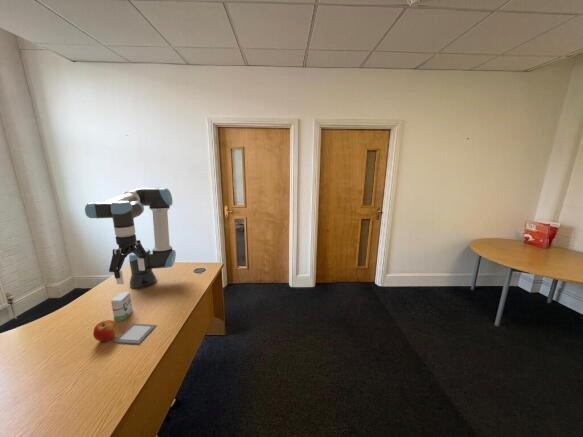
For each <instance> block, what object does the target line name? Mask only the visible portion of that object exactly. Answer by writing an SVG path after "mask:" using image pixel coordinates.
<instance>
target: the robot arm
mask: <svg viewBox="0 0 583 437" xmlns="http://www.w3.org/2000/svg"><path fill="white" fill-rule="evenodd" d="M172 205H173V196H172V193H171V191H170V189H168V188H167V187H166V188H165V187H140V188H139V187H138V188H136V189H135V188H133V189H132V190H128V191H125V192H124V193H123V194H121V195H118V196H115V197H113V198H112V197H111V198H110V199H107V200H104V201H100V202H96V201H95V202H89V203H86V205H85V207H84V213H85V216H86V217H87V218H89V219H112V222H113V229H114V235H115V243H116V245H117V246H118V248H117V249H116V248H113V249H112V257H111V260H110V265H109V269H108V272H109V273H113V274H114V278H115V280H116V281H115V282H116V284H117V285H124V284H125V283H124V282H125V281H124V276H123V269H122V267H123V265H124V262H125V261H126V260H125V259H126V258H127V257H128V262H129V266H130V267H129V268H130V272H131V273H130V274H131V276H130V279H129V280H130V281H129V287H130V288H131V289H137V290H138V289H143V288H144V289H145V288H147V287H151V286H152V285H154V284H156V282H157V276H156V275H155V273H154V271H153V269H167V268H172V267H173V266H174V264H175V263H176V262H175V261H176V250H175V249H173V247H172V246H171V245H170V232H169V215H168V214H169V212H168V210H170V209H171V208H170V207H171V206H172ZM145 207H148V208H149V209H150V210H151V212H152V224H153V236H154V238H153V239H154V247H153V248H152V251H151V250H150V249H149V248H144V247H143V245H142V242H141V240H139V239H137V235H136V228H135V227H136V226H135V220H134V219H135V218H137V217H139V216H141V215H142V214H143V213H144V211H145Z"/></svg>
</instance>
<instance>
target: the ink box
mask: <svg viewBox="0 0 583 437" xmlns="http://www.w3.org/2000/svg"><path fill="white" fill-rule="evenodd" d="M131 297H132V296H131V292H130V291H122V292H119V293H118V294H117V295H116V296H114V298H112V299H111V301H110V304H111V308H112V315H113V321H114V322H118V321H120V322H121V321H125V320H126V319H127V318H128V317H129V315H130V314H131V313H132V312H133V304H132V298H131Z"/></svg>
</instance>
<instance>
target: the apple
mask: <svg viewBox="0 0 583 437" xmlns="http://www.w3.org/2000/svg"><path fill="white" fill-rule="evenodd" d="M117 328H118V327H117V324H116V321H114V320H111V319H109V320H108V319H107V320H103V321H100V322H99V323H97V324H96V325H95V326H94V329H93V338H94V339H95V340H96V341H98V342H106V341H109V340H111V339H112V338H113V337H114V336H115V335H116V333H117Z"/></svg>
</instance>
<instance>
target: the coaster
mask: <svg viewBox="0 0 583 437" xmlns="http://www.w3.org/2000/svg"><path fill="white" fill-rule="evenodd" d="M156 327H157V325H156V324H148V323H147V324H146V323H132V324H131V325H130V326H129V327H127V328H126V329H125V331H124V332H122V333H121V334H120V335H119V336H118V337H117V338H116V339H114V341H113V343H115V344H126V345H127V344H128V345H129V344H130V345H140V344H141V343H142V342H143V341H144V340H145V339H146V338H147V337H148V336H149V334H151V333H152V332H153V330H154V329H155V328H156Z"/></svg>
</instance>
